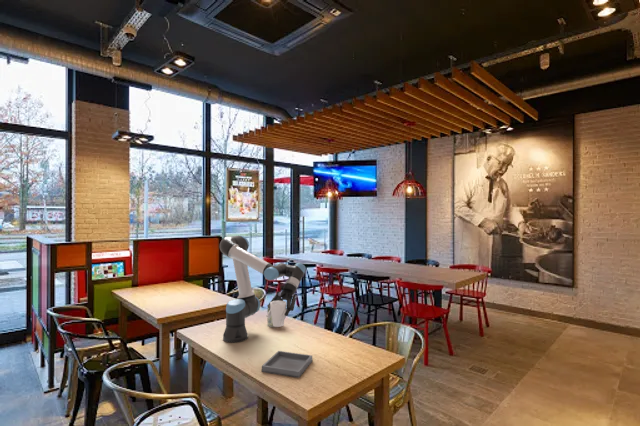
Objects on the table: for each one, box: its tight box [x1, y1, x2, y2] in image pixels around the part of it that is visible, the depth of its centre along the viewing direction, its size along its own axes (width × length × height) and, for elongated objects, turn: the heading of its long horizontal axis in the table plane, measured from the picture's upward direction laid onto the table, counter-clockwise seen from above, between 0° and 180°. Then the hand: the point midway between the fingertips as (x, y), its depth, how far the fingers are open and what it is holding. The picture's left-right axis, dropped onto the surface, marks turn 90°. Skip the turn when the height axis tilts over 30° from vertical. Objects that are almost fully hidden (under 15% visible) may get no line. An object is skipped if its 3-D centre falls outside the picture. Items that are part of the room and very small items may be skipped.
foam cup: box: [269, 300, 287, 328], centre depth 201 cm, size 10×9×13 cm
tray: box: [261, 350, 313, 379], centre depth 181 cm, size 20×20×3 cm
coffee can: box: [266, 303, 276, 328], centre depth 247 cm, size 10×10×14 cm
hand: (274, 318), depth 199 cm, fingers closed on foam cup, 9 cm apart
